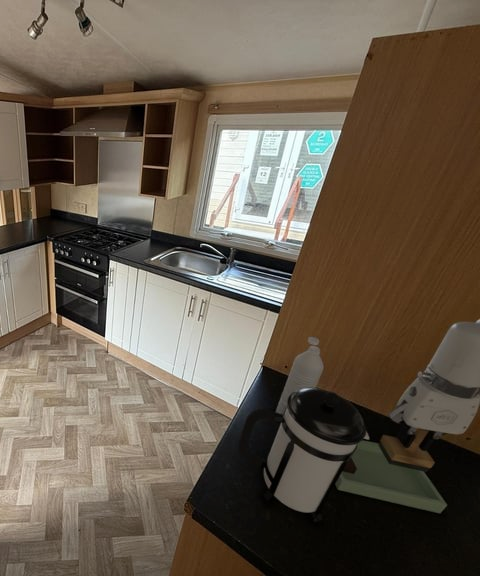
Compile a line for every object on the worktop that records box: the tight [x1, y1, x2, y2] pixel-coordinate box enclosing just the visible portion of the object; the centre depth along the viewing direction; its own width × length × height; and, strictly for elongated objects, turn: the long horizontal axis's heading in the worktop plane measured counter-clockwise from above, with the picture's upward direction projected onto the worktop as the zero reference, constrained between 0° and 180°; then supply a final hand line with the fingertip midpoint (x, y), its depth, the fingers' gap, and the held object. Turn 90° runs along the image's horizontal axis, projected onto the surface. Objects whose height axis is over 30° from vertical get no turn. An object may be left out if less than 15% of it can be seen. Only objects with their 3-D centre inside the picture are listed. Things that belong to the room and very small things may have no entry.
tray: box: [334, 439, 448, 514], centre depth 75 cm, size 20×14×3 cm
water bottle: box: [275, 336, 325, 417], centre depth 86 cm, size 9×6×25 cm
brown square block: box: [343, 458, 357, 474], centre depth 77 cm, size 4×4×2 cm
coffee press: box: [238, 387, 370, 525], centre depth 65 cm, size 17×16×30 cm
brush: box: [378, 428, 435, 473], centre depth 70 cm, size 7×5×10 cm
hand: (410, 443), depth 70 cm, fingers closed on brush, 2 cm apart
